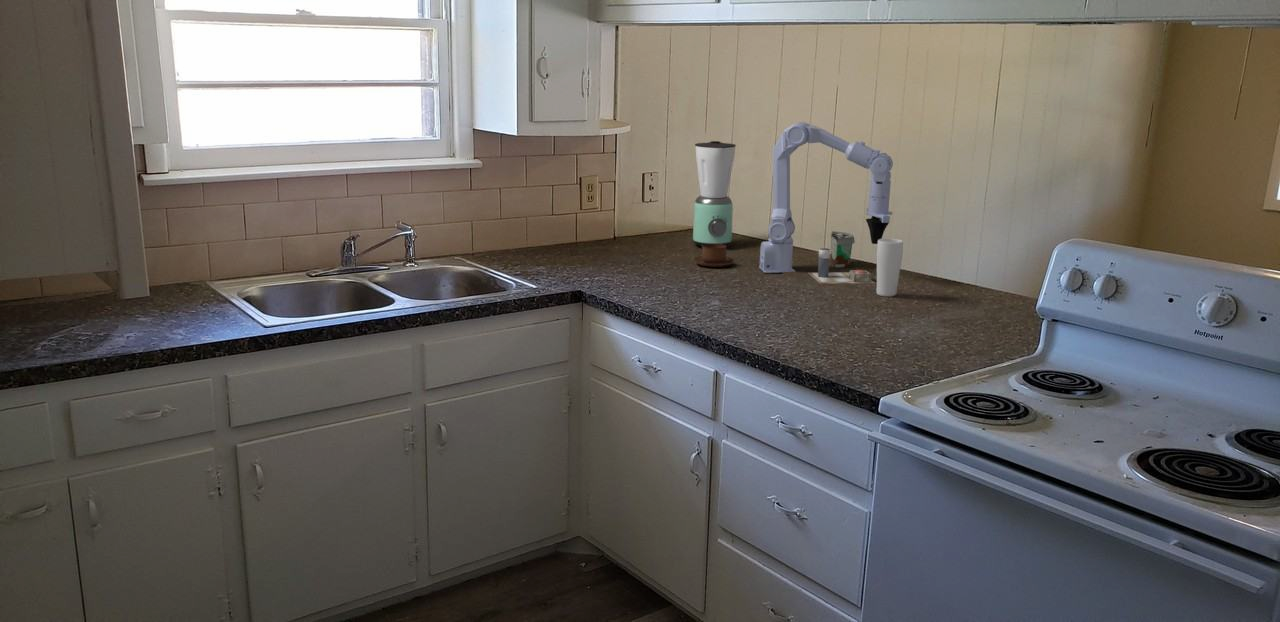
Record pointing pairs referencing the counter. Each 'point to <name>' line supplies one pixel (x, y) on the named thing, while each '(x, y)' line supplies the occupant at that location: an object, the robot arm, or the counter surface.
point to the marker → (823, 262)
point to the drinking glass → (888, 266)
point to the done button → (860, 271)
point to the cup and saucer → (714, 256)
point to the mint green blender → (713, 194)
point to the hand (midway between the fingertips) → (875, 243)
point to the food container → (841, 249)
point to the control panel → (844, 277)
